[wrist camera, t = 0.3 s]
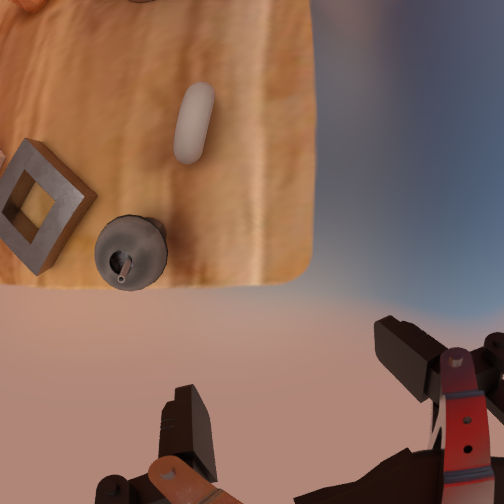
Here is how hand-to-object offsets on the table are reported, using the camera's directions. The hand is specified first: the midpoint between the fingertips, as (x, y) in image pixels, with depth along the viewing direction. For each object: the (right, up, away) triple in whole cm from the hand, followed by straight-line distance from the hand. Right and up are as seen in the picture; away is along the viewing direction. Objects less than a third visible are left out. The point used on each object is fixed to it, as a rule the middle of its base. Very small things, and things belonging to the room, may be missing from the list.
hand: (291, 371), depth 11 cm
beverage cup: (-15, +7, +26) cm, 31 cm away
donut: (-9, +21, +24) cm, 33 cm away
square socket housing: (-31, +12, +22) cm, 40 cm away
